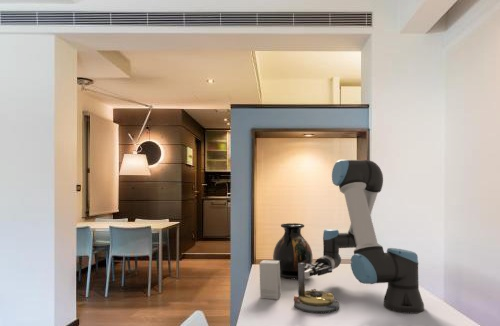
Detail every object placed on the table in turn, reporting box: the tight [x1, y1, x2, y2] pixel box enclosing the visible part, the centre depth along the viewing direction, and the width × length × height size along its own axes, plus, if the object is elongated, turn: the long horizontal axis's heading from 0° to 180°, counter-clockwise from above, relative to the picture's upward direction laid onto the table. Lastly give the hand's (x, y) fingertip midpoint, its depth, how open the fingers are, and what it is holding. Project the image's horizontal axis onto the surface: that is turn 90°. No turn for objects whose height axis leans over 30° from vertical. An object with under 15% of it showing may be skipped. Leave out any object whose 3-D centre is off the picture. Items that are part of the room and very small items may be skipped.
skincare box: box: [259, 259, 281, 300], centre depth 165 cm, size 8×7×16 cm
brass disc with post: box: [297, 263, 334, 306], centre depth 153 cm, size 14×14×15 cm
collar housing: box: [293, 290, 340, 315], centre depth 153 cm, size 18×18×5 cm
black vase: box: [272, 222, 313, 280], centre depth 203 cm, size 22×22×28 cm
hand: (305, 275), depth 157 cm, fingers closed
